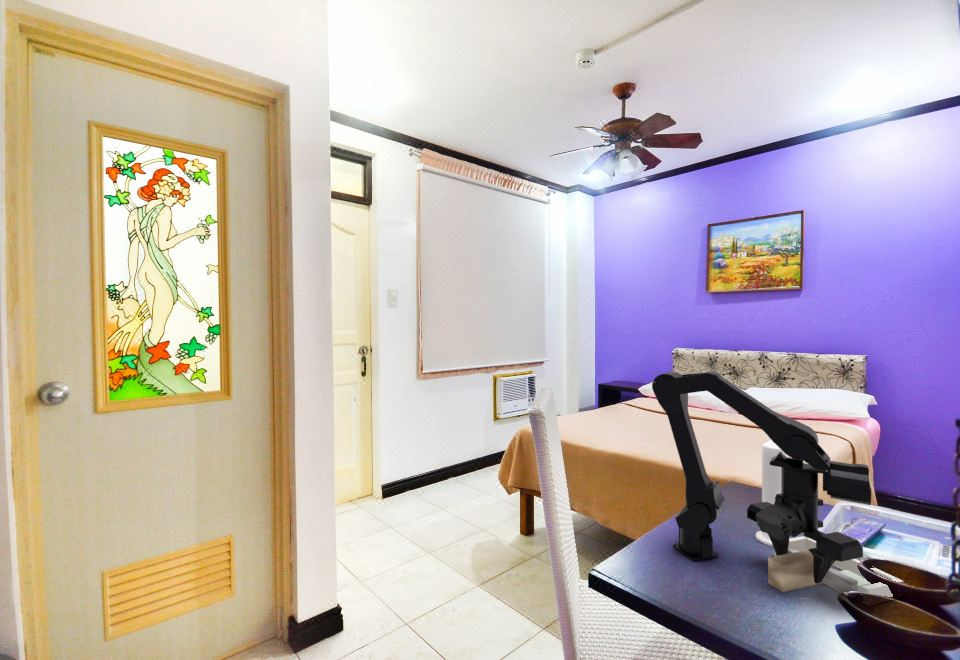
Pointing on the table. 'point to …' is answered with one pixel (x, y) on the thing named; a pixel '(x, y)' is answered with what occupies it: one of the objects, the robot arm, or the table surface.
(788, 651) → the table surface
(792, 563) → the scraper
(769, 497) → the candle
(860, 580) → the tile sage
